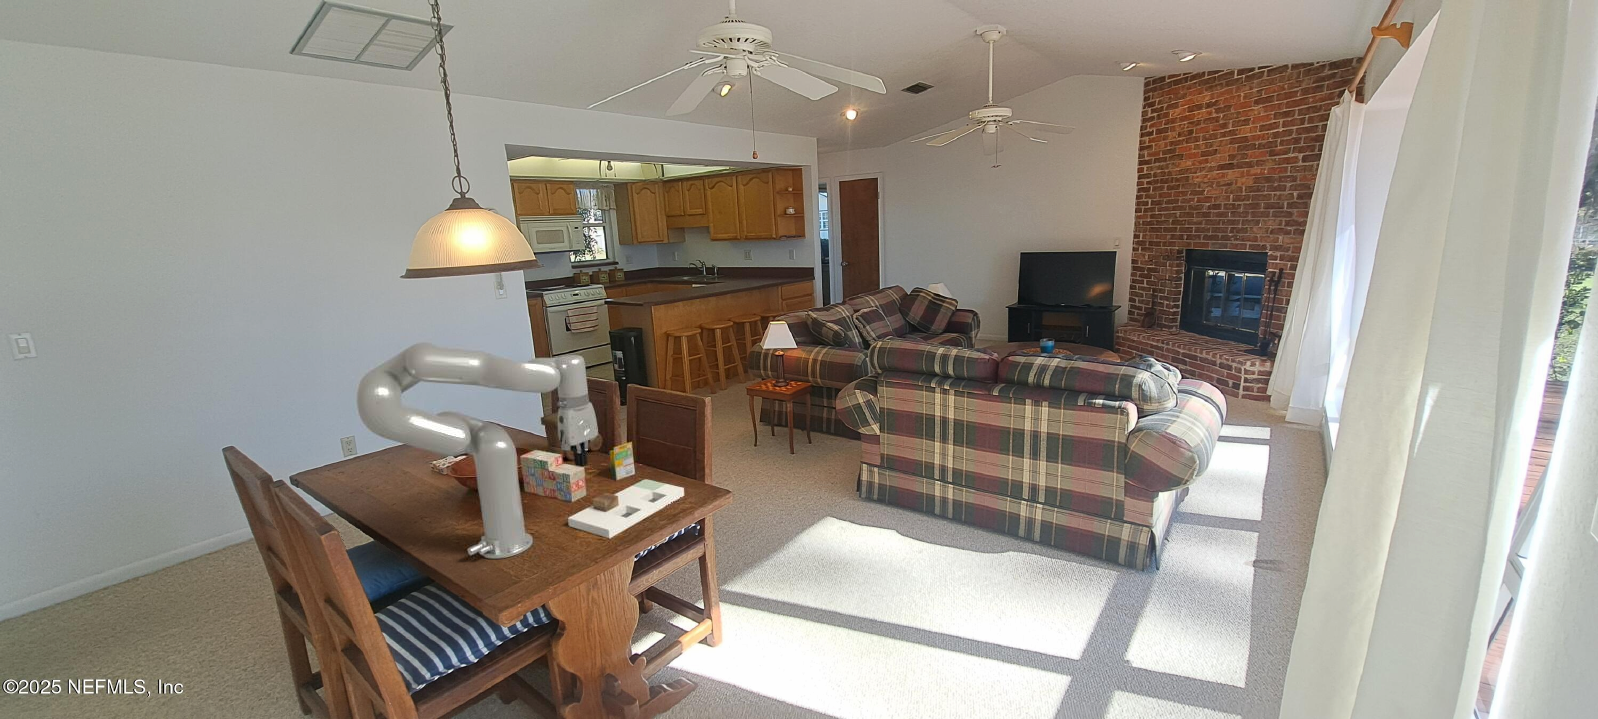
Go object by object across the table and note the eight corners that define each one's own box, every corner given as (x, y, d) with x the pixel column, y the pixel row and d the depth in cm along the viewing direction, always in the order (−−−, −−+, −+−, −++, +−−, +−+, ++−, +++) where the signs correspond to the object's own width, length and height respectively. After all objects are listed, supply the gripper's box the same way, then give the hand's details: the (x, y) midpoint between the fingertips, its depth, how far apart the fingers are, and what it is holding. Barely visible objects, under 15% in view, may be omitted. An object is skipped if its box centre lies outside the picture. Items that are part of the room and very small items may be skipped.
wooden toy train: (565, 465, 224) (560, 420, 220) (543, 460, 229) (538, 416, 226) (606, 447, 241) (602, 406, 237) (585, 443, 246) (581, 402, 243)
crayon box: (630, 471, 215) (627, 439, 213) (635, 474, 214) (632, 441, 211) (611, 478, 210) (608, 445, 208) (616, 480, 208) (613, 447, 206)
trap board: (609, 538, 169) (608, 529, 168) (568, 525, 177) (567, 517, 176) (684, 495, 195) (683, 487, 195) (646, 486, 203) (645, 478, 202)
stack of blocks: (587, 495, 198) (583, 458, 195) (572, 502, 192) (568, 465, 190) (539, 484, 207) (535, 449, 205) (524, 491, 202) (519, 455, 199)
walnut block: (605, 512, 179) (604, 502, 178) (593, 508, 182) (592, 499, 181) (618, 505, 183) (617, 495, 183) (606, 502, 186) (605, 492, 185)
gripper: (561, 410, 161) (568, 476, 165) (605, 395, 174) (611, 458, 177) (541, 406, 165) (549, 472, 168) (586, 392, 177) (592, 454, 181)
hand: (581, 464), depth 173 cm, fingers closed
